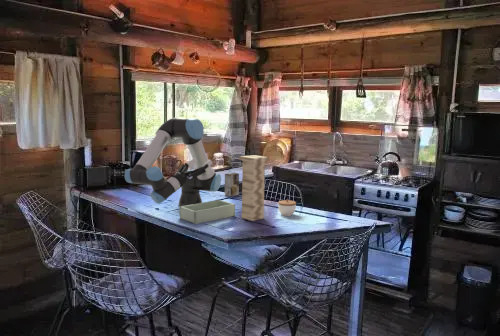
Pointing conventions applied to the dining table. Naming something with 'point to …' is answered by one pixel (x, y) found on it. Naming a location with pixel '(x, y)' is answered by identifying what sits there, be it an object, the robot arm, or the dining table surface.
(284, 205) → the lidded jar
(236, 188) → the coffee box
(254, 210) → the stand
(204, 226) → the dining table surface
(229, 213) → the bin
